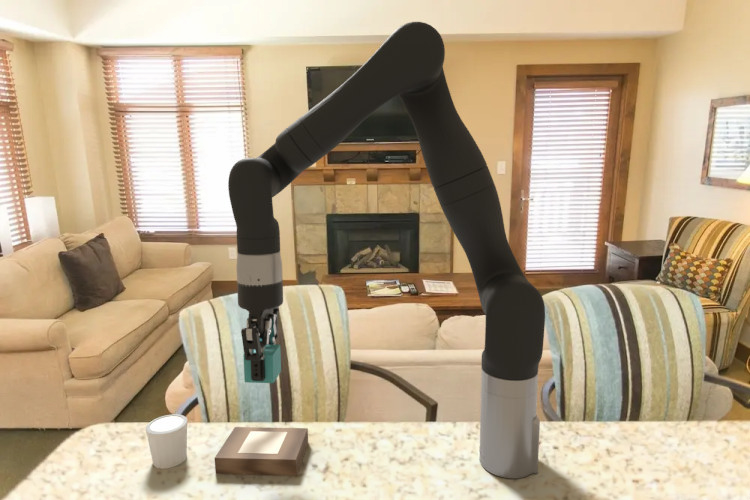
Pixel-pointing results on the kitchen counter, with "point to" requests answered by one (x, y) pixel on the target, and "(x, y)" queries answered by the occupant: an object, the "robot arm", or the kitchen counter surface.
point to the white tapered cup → (168, 440)
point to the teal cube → (266, 365)
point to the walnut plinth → (262, 451)
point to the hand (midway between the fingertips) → (263, 372)
